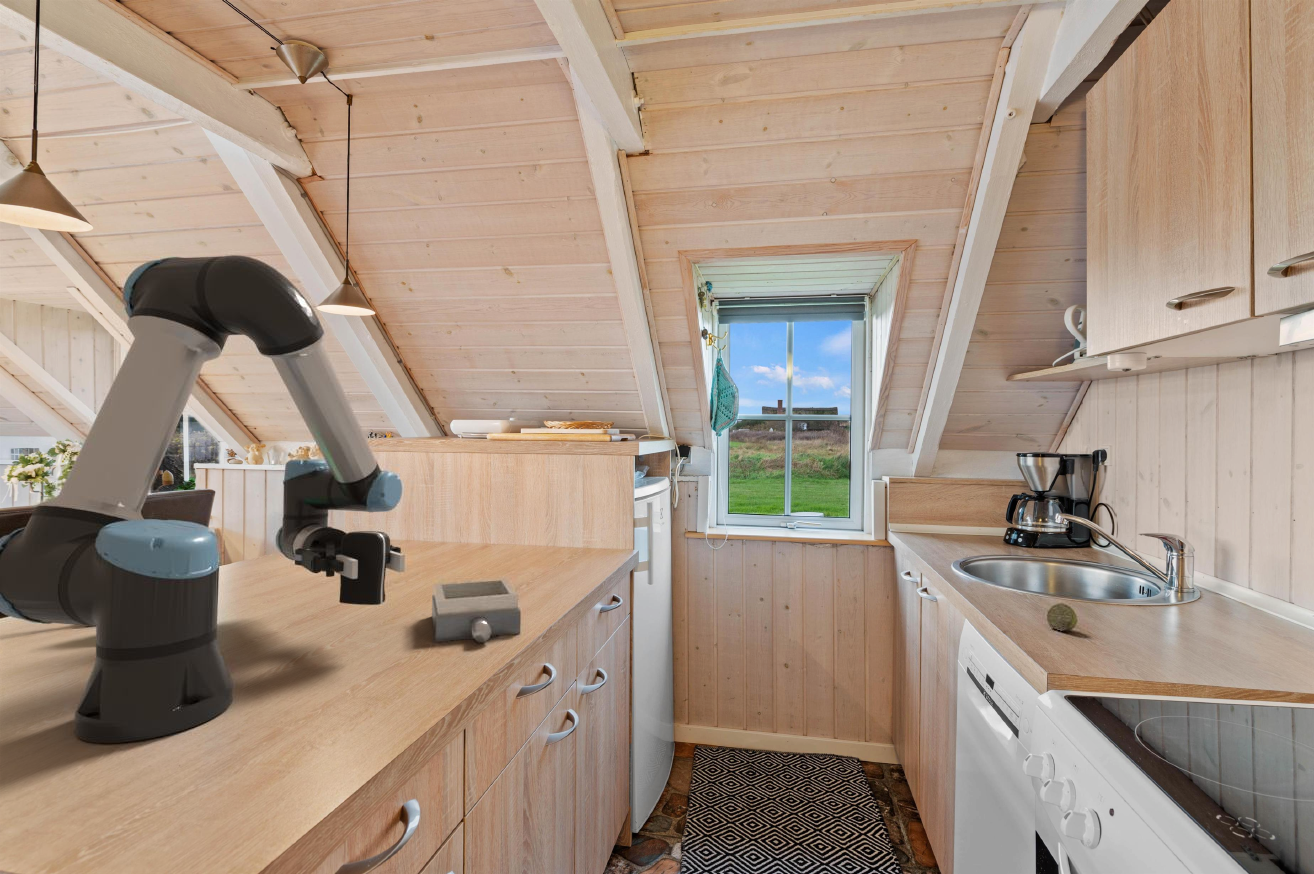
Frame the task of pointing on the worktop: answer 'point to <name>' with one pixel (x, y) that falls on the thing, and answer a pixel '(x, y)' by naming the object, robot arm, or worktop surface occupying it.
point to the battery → (365, 567)
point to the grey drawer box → (475, 610)
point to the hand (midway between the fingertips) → (379, 566)
